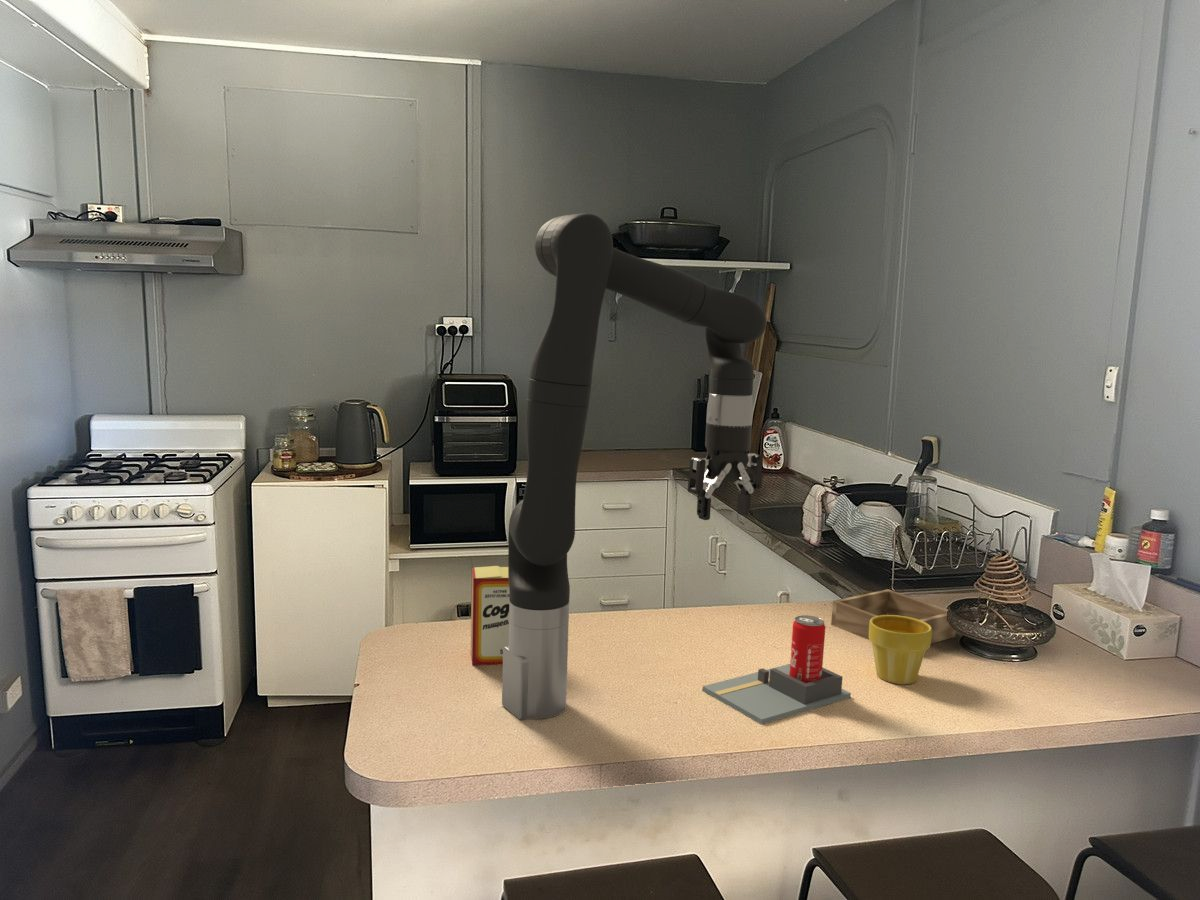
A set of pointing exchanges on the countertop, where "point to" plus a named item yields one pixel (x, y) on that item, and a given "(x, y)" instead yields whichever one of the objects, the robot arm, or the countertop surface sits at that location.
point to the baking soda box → (489, 614)
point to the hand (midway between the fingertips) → (723, 516)
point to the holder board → (777, 693)
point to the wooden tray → (862, 608)
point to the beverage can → (807, 648)
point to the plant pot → (899, 646)
